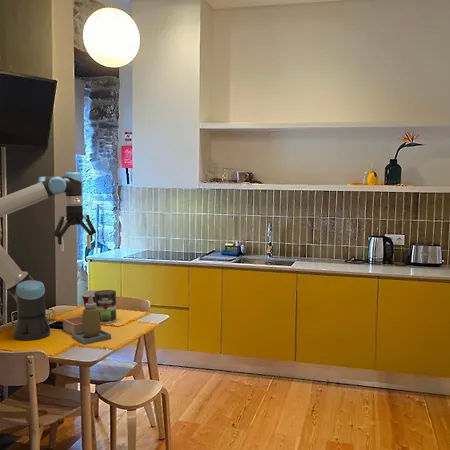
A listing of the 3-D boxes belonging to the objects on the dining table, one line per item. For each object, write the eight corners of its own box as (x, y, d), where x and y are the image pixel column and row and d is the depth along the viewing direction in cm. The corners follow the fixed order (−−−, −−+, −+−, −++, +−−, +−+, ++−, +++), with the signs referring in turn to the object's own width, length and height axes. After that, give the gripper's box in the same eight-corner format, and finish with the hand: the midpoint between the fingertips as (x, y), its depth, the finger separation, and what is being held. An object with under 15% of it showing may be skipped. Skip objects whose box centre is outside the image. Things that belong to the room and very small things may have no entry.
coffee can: (117, 322, 264) (116, 293, 263) (94, 324, 262) (93, 294, 261) (116, 317, 274) (115, 289, 273) (95, 318, 272) (94, 290, 271)
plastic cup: (81, 319, 270) (81, 295, 269) (81, 314, 280) (80, 290, 279) (104, 318, 273) (103, 294, 272) (103, 312, 283) (102, 289, 282)
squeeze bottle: (81, 334, 242) (79, 294, 240) (99, 332, 245) (98, 292, 243) (83, 340, 235) (81, 298, 233) (102, 337, 238) (101, 296, 236)
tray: (84, 344, 231) (84, 339, 231) (72, 337, 241) (72, 333, 240) (111, 338, 239) (110, 334, 239) (98, 332, 248) (98, 328, 248)
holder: (74, 336, 243) (74, 324, 243) (63, 330, 253) (62, 319, 252) (100, 330, 251) (100, 320, 250) (88, 325, 261) (88, 314, 260)
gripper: (51, 206, 250) (53, 253, 253) (102, 204, 266) (103, 248, 268) (45, 205, 256) (47, 251, 258) (95, 203, 272) (96, 246, 274)
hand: (75, 250), depth 263 cm, fingers open, 13 cm apart
